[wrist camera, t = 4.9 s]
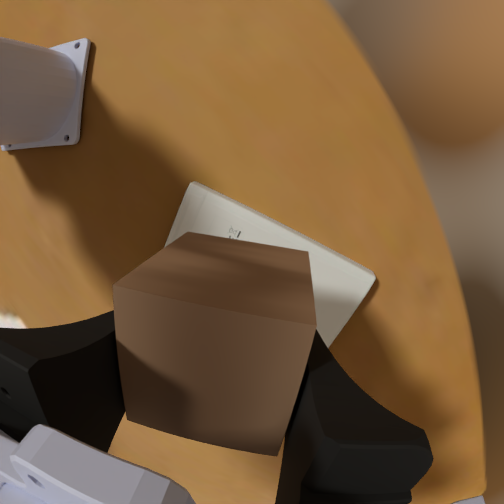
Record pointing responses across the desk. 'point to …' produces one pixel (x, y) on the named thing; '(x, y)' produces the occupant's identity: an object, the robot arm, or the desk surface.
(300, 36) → the desk surface
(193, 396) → the walnut block
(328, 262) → the external hard drive
